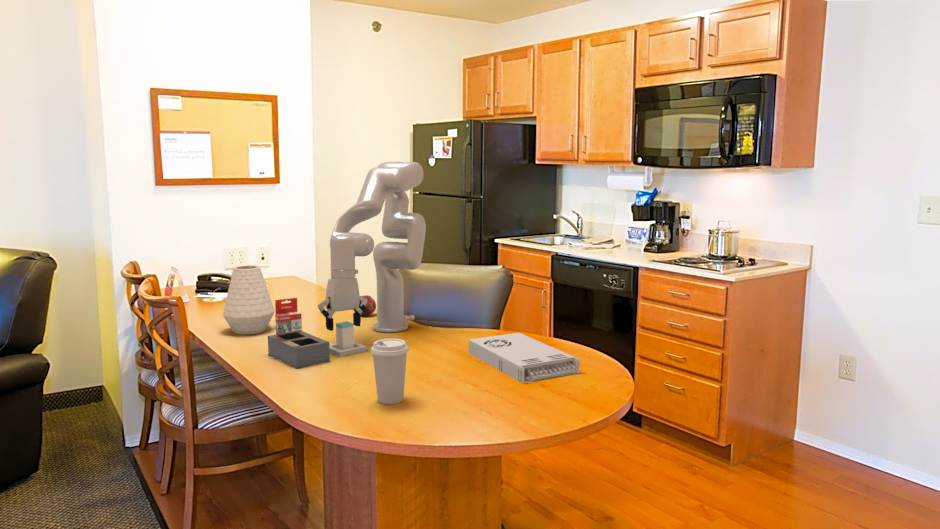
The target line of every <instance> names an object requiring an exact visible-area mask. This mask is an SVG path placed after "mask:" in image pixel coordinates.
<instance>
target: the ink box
mask: <svg viewBox="0 0 940 529" xmlns="http://www.w3.org/2000/svg"><path fill="white" fill-rule="evenodd" d="M286 301H287V302H286ZM283 302H284V303H283ZM274 304H275V305H274V306H275V308H274V310H275V313H274V317H275V319H274V320H275V335H276V334H281V333H287V332H292V331H298V330H301V331H303V325H302V324H303V323H302V322H303V321H302V312H300V311H298V297H291V298H283V299H275V300H274Z"/></svg>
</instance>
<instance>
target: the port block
mask: <svg viewBox="0 0 940 529" xmlns="http://www.w3.org/2000/svg"><path fill="white" fill-rule="evenodd" d="M329 344H330V342H329V341H327V340H325V339H324V338H323V339H322V338H320V337H318V336H315V335H313V334H311V333H309V332H305V331H303V330H302V331H301V330H298V331H292V332H287V333H281V334H276V333H275V334H272V335H267V352H268V355H269V356H270V357H272V358H275V360H276V359H277V360H278V361H280V362H283V363H284V364H286V365H288V366H290V367H291V368H294V369H296V370H297V369H302V368H306V367H310V366H311V367H312V366H316V365H319V364H320V363H321V364H324V363H325V364H326V363H328V362H330V361H331V357H330V356H331V353H330V347H329ZM315 364H316V365H315Z"/></svg>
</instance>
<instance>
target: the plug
mask: <svg viewBox="0 0 940 529" xmlns="http://www.w3.org/2000/svg"><path fill="white" fill-rule="evenodd" d="M354 326H355V325H353V322H350V321H347V320H345V321H341V322H336V323H335V332H336V334H335V335H336V343H337V348H338V349H340V350H345V349H350V348H354V342H355V335H354V332H355V331H354V330H355V329H354Z"/></svg>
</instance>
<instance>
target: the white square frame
mask: <svg viewBox="0 0 940 529" xmlns="http://www.w3.org/2000/svg"><path fill="white" fill-rule="evenodd" d="M329 347H330V355H335V356H337V357H338V358H342V357H347V356H351V355H354V354H356V355H357V354H361V353H364V352H368V346H367V345H364V344H363V343H362V344H361V343H360V342H356V341H354V348H350V349H345V350H340V349H338V348H337V342H335V343H329Z"/></svg>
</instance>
